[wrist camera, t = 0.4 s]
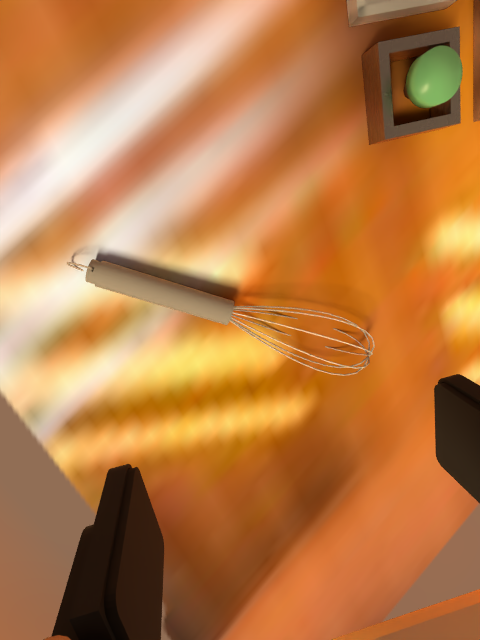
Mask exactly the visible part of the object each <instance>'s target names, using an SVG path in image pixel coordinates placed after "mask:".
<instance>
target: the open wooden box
mask: <svg viewBox="0 0 480 640" xmlns="http://www.w3.org/2000/svg"><path fill="white" fill-rule="evenodd" d="M437 46H448V47H450V48H452V49H453V50H455V51H456V53H457V54H458V55H459V57H460V30H459V27H454V28H449V29H444V30H439V31H434V32H429V33H423V34H418V35H413V36H408V37H403V38H398V39H392V40H387V41H382V42H378V43H376V44H375V45H374V46H373V47H372V48H370V49H369V50H368V51H367V52H366V53H364V54H363V55H362V66H363V78H364V90H365V101H366V113H367V124H368V136H369V145H371V144H376V143H380V142H385V141H389V140H394V139H398V138H403V137H407V136H412V135H417V134H421V133H426V132H430V131H435V130H439V129H443V128H446V127H449V126H453V125H456V124H459V123H460V86H459V88H458V90H457V91H456V93H455V94H454V95H453V96H452V98H450V99H449V100H448V101H446V102H444V103H441V104H439V105H436V106H434V107H431V108H430V119H425V120H420V121H416V122H411V123H407V124H402V125H397V126H394V121H393V105H392V90H391V75H390V62H393V61H398V60H403V59H408V58H413V57H418V56H421V55H423V54H424V53H426V52H427V51H429V50H431V49H432V48H434V47H437Z"/></svg>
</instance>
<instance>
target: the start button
mask: <svg viewBox="0 0 480 640" xmlns="http://www.w3.org/2000/svg"><path fill="white" fill-rule="evenodd" d="M461 79H462V63H461V60H460V57H459V55H458V54H457V53H456V51H455V50H453V49H452V48H450V47H448V46H437V47H434V48H432V49H431V50H429V51H427V52H426V53H424V54H423V55H421V56H419V57H418V58H417V59H416V60H415V61H414V62H413V63H412V65H411V66H410V68H409V71H408V74H407V78H406V85H405V87H404V94H405V96H406V97H407V98H408V99H410V100H411V101H412V103H413V104H415V105H416V106H418V107H420V108H431V107H434V106H436V105H439V104H441V103H444V102H446V101H448V100H449V99H450V98H452V96H453V95H454V94H455V93H456V91H457V90H458V88H459V86H460V83H461Z"/></svg>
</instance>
